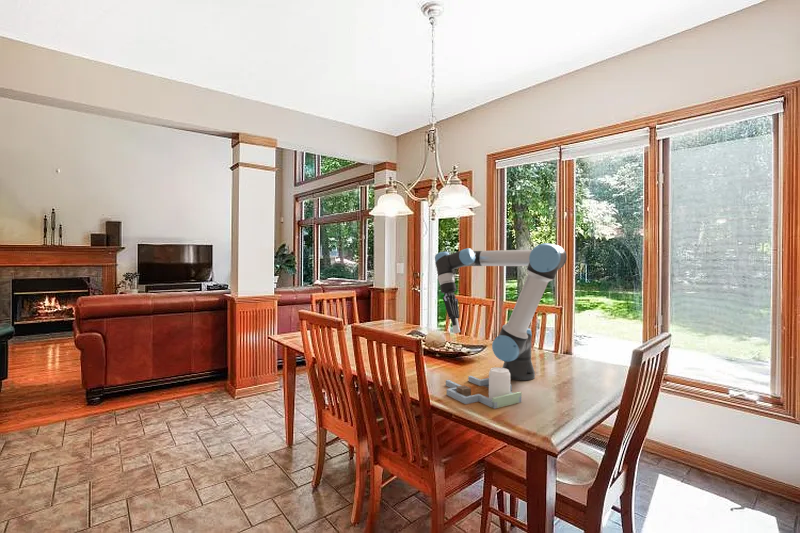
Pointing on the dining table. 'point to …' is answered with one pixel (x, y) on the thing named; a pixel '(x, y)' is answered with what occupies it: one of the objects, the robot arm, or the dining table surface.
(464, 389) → the walnut cube
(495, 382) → the beverage can
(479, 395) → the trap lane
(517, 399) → the end wall
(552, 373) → the dining table surface
